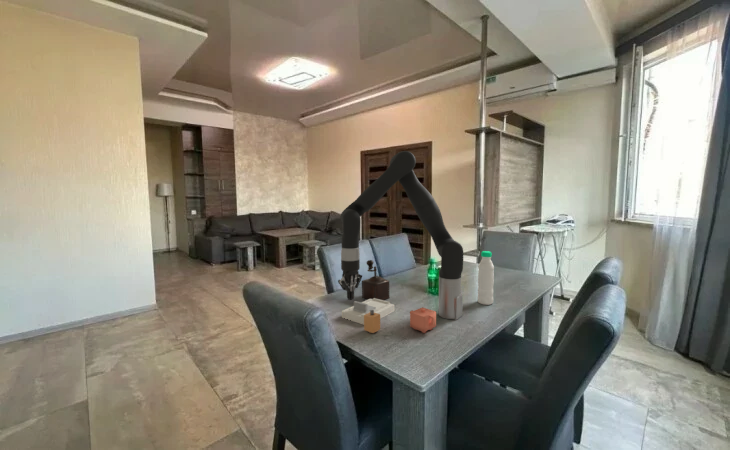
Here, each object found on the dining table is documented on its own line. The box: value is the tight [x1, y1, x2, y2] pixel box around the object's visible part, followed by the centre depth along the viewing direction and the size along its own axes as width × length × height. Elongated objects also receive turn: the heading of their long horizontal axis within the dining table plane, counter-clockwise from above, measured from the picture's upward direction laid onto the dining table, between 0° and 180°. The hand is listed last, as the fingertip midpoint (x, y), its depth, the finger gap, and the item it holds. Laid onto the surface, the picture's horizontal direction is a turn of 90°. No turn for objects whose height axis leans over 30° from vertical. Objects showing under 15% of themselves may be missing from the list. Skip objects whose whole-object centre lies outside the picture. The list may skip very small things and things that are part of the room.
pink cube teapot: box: [409, 306, 437, 334], centre depth 128 cm, size 8×12×8 cm, turn 42°
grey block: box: [353, 300, 376, 314], centre depth 141 cm, size 7×7×4 cm
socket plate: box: [341, 298, 396, 326], centre depth 143 cm, size 14×20×4 cm
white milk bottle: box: [477, 250, 495, 306], centre depth 155 cm, size 7×7×25 cm
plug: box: [363, 310, 381, 334], centre depth 126 cm, size 4×4×8 cm
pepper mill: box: [361, 259, 390, 301], centre depth 166 cm, size 16×11×18 cm
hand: (350, 299), depth 134 cm, fingers closed
